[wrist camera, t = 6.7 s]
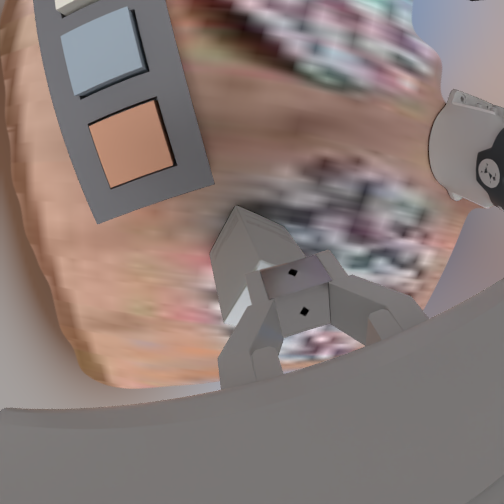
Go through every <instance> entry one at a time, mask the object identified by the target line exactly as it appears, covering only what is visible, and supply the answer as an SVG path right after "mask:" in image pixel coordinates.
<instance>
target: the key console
mask: <svg viewBox="0 0 504 504" xmlns="http://www.w3.org/2000/svg"><path fill="white" fill-rule="evenodd" d="M33 3H34V12H35V20H36V27H37V34H38V40H39V45H40V51H41V56H42V61H43V66H44V70H45V75H46V79H47V83H48V87H49V91H50V95H51V99H52V102H53V106H54V109H55V113H56V116H57V120H58V123H59V126H60V129H61V132H62V135H63V138H64V141H65V144H66V147H67V150H68V153H69V156H70V159H71V161H72V164H73V167H74V169H75V172H76V175H77V177H78V180H79V182H80V185H81V187H82V190H83V192H84V195H85V197H86V200H87V202H88V204H89V207H90V209H91V211H92V213H93V216H94V218H95V220H96V222H97V224H100V223H102V222H105V221H108V220H110V219H113V218H115V217H118V216H121V215H124V214H126V213H129V212H132V211H135V210H137V209H140V208H143V207H146V206H149V205H152V204H154V203H157V202H160V201H163V200H166V199H169V198H172V197H175V196H178V195H181V194H185V193H188V192H191V191H194V190H197V189H200V188H204V187H207V186H210V185H214V184H215V183H214V180H213V176H212V173H211V169H210V166H209V162H208V159H207V155H206V152H205V148H204V145H203V141H202V137H201V134H200V130H199V127H198V123H197V119H196V116H195V112H194V108H193V105H192V101H191V97H190V94H189V90H188V86H187V83H186V79H185V75H184V71H183V68H182V64H181V60H180V56H179V52H178V49H177V45H176V41H175V37H174V33H173V29H172V25H171V21H170V17H169V14H168V10H167V6H166V2H165V0H100V1H97V2H95V3H93V4H91V5H88V6H86V7H84V8H82V9H80V10H78V11H76V12H74V13H72V14H70V15H68V16H65V15H64V14H62V13H60V12H59V11H57V10H56V6H55V0H33ZM127 6H128V8H129V9H130V11H131V12H132V14H133V16H134V17H135V19H136V22H137V27H138V31H139V35H140V39H141V43H142V47H143V51H144V54H145V58H146V62H147V66H148V70H149V72H146V73H144V74H141V75H138V76H135V77H133V78H130V79H127V80H125V81H122V82H120V83H117V84H115V85H113V86H110V87H108V88H105V89H103V90H101V91H99V92H96V93H94V94H92V95H90V96H74V92H73V89H72V85H71V81H70V77H69V73H68V69H67V65H66V60H65V56H64V51H63V46H62V42H61V36H62V35H64V34H66V33H68V32H70V31H71V30H73V29H75V28H77V27H79V26H82V25H84V24H86V23H88V22H90V21H92V20H94V19H97V18H99V17H101V16H104V15H106V14H108V13H111V12H113V11H116V10H119V9H121V8H124V7H127ZM153 100H158V102H159V106H160V109H161V113H162V116H163V119H164V123H165V126H166V130H167V133H168V136H169V140H170V143H171V146H172V149H173V153H174V156H175V158H174V163H173V165H172V166H169V167H166V168H163V169H161V170H158V171H155V172H152V173H149V174H146V175H143V176H141V177H138V178H135V179H133V180H130V181H127V182H125V183H122V184H119V185H117V186H114V187H112V188H111V187H110V185H109V182H108V180H107V177H106V174H105V172H104V169H103V166H102V164H101V161H100V158H99V155H98V152H97V149H96V147H95V144H94V141H93V138H92V135H91V131H90V128H89V126H91V125H93V124H95V123H97V122H100V121H102V120H104V119H107V118H109V117H111V116H114V115H116V114H119V113H121V112H124V111H126V110H129V109H131V108H134V107H137V106H139V105H142V104H145V103H148V102H150V101H153Z"/></svg>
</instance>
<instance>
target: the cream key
mask: <svg viewBox="0 0 504 504" xmlns="http://www.w3.org/2000/svg"><path fill="white" fill-rule="evenodd" d="M97 1H100V0H55V6H56V10H57V11H59V12H60V13H62V14H64V15H65V16H68V15H70V14H72V13H74V12H76V11H78V10H80V9H82V8H84V7H86V6H88V5H91V4H93V3H95V2H97Z"/></svg>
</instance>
